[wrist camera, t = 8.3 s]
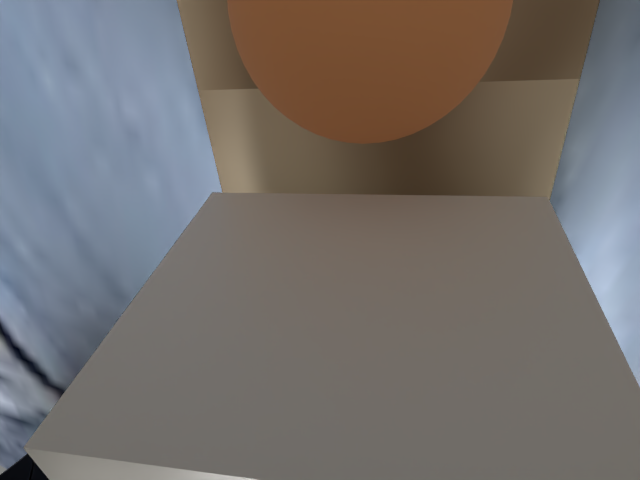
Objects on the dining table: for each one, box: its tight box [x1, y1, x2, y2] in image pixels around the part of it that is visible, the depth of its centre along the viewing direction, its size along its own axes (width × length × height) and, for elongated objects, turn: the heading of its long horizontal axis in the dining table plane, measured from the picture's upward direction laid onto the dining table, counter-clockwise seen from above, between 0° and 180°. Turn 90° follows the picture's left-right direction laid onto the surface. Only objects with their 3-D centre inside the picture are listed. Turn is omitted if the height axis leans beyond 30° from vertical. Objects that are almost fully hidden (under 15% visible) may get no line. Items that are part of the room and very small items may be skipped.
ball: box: [227, 0, 513, 144], centre depth 8 cm, size 5×5×5 cm
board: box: [177, 0, 600, 201], centre depth 12 cm, size 9×17×1 cm, turn 5°
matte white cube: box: [24, 192, 640, 480], centre depth 10 cm, size 8×8×7 cm
